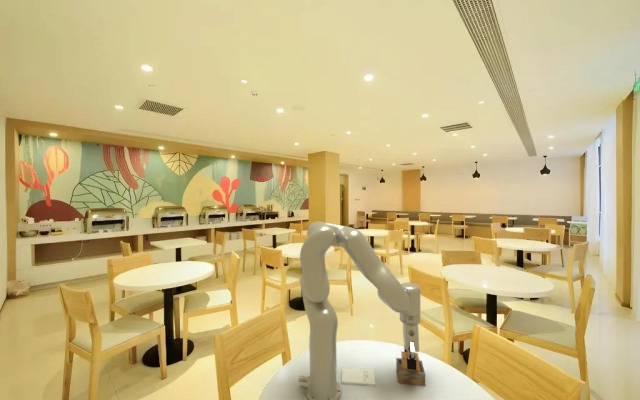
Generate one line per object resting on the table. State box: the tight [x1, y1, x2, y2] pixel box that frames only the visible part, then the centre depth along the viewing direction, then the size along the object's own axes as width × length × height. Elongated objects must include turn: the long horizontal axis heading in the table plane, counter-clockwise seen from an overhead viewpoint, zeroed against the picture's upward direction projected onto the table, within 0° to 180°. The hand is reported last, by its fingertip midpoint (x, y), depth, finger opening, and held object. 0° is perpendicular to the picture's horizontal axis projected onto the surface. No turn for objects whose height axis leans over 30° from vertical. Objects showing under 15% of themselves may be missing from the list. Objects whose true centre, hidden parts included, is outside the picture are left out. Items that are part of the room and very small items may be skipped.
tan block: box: [401, 350, 420, 372], centre depth 104 cm, size 6×4×6 cm
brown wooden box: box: [395, 357, 426, 387], centre depth 104 cm, size 10×8×4 cm
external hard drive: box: [341, 367, 377, 387], centre depth 104 cm, size 2×8×12 cm
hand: (410, 360), depth 104 cm, fingers open, 9 cm apart
